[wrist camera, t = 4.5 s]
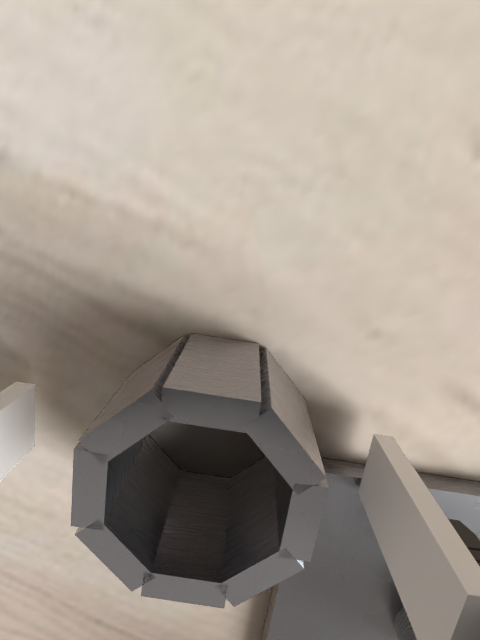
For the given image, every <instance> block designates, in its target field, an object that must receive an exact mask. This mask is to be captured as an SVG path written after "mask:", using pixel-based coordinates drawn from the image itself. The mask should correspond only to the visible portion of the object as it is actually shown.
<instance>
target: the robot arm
mask: <svg viewBox="0 0 480 640" xmlns="http://www.w3.org/2000/svg"><path fill="white" fill-rule="evenodd" d="M34 446H35V384H30V383H23V382H14V383H13V384H11V385H10V386H8V387H7V388H5V389H4V390H3V391H1V392H0V482H1V481H2V480H3V479H4V477H5V476H6V475H7V474H8V473H9V472H10V471H11V470H12V469H13V468H14V467H15V466H16V465H17V464H18V463H19V462H20V461H21V460H22V459H23V458H24V457H25V456H26V455H27V454H28V452H29V451H30V450H31V449H32V448H33V447H34ZM358 494H359V496H360V499H361V501H362V504H363V506H364V509H365V511H366V514H367V516H368V519H369V521H370V524H371V526H372V529H373V531H374V534H375V536H376V539H377V541H378V544H379V546H380V549H381V551H382V554H383V556H384V558H385V561H386V563H387V566H388V568H389V571H390V573H391V576H392V578H393V581H394V583H395V586H396V588H397V591H398V593H399V596H400V598H401V601H402V603H403V606H404V608H405V611H406V613H407V616H408V618H409V621H410V623H411V626H412V628H413V631H414V633H415V636H416V638H417V640H480V540H479V539H478V537H477V536H476V535H475V534H474V533H473V532H472V531H471V530H470V529H469V528H467V527H466V526H465V525H464V524H463V523H462V522H461V521H460V520H453V519H448V518H447V517H446V515H445V514H444V512H443V511H442V509H441V508H440V506H439V505H438V503H437V502H436V500H435V499H434V497H433V496H432V494H431V493H430V491H429V490H428V488H427V487H426V485H425V484H424V482H423V481H422V479H421V478H420V476H419V475H418V473H417V472H416V470H415V469H414V467H413V466H412V464H411V463H410V461H409V460H408V458H407V457H406V455H405V454H404V452H403V451H402V449H401V448H400V446H399V445H398V444H397V442H396V441H395V439H394V438H393V437H391V436H384V435H377V434H374V436H373V439H372V443H371V447H370V450H369V454H368V458H367V462H366V465H365V469H364V473H363V477H362V480H361V484H360V488H359V491H358Z"/></svg>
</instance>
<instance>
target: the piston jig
mask: <svg viewBox="0 0 480 640" xmlns="http://www.w3.org/2000/svg"><path fill="white" fill-rule="evenodd" d="M321 460H322V463H323V467H324V470H325V474H326V477H327V478H326V479H327V483H328V487H329V489H328V493H327V497H326V501H325V505H324V510H323V514H322V518H321V522H320V526H319V530H318V534H317V538H316V542H315V546H314V550H313V554H312V558H311V562H308V561H303V564H304V570H302V571H300V572H298V573H296V574H294V575H293V576H291V577H289V578H287V579H285V580H283V581H281V582H280V583H278V584H276V585H274V586H273V589H272V593H271V598H270V602H269V607H268V611H267V616H266V620H265V625H264V629H263V634H262V638H261V640H417V638H416V636H415V633H414V631H413V628H412V626H411V623H410V621H409V618H408V616H407V613H406V611H405V608H404V606H403V603H402V601H401V598H400V596H399V593H398V591H397V588H396V586H395V583H394V581H393V578H392V576H391V573H390V571H389V568H388V566H387V563H386V561H385V558H384V556H383V554H382V551H381V549H380V546H379V544H378V541H377V539H376V536H375V534H374V531H373V529H372V526H371V524H370V521H369V519H368V516H367V514H366V511H365V509H364V506H363V504H362V501H361V499H360V496H359V494H358V491H359V488H360V484H361V480H362V477H363V473H364V469H365V464H359V463H352V462H345V461H339V460H332V459H326V458H321ZM417 473H418V472H417ZM418 475H419V476H420V478H421V479H422V481H423V482H424V484H425V485H426V487H427V488H428V490H429V491H430V493H431V494H432V496H433V497H434V499H435V500H436V502H437V503H438V505H439V506H440V508H441V509H442V511H443V512H444V514H445V515H446V517H447V518H448V519H453V520H460V521H461V522H462V523H463V524H464V525H465V526H466V527H467V528H469V529H470V530H471V531H472V532H473V533H474V534H475V535H476V536H477V537H478V539H479V540H480V482H477V481H470V480H464V479H457V478H451V477H444V476H437V475H431V474H424V473H418Z"/></svg>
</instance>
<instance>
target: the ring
mask: <svg viewBox="0 0 480 640" xmlns="http://www.w3.org/2000/svg"><path fill="white" fill-rule="evenodd" d="M167 421H170V422H176V423H183V424H189V425H196V426H202V427H209V428H216V429H222V430H229V431H235V432H242V433H247V434H248V435H249V436H250V437H251V438H252V440H253V441H254V442H255V443H256V445H257V446H258V447H259V448H260V450H261V451H262V452H263V453H264V454H265V456H266V457H264V458H263V459H261V460H259V461H258V462H256V463H254V464H253V465H251V466H250V467H248V468H246V469H245V470H243V471H241V472H240V473H238V474H237V475H235V476H233V477H232V478H226V477H220V476H213V475H207V474H200V473H193V472H187V471H181V470H180V469H179V468H178V467H177V466H176V465H175V464H174V463H173V461H172V460H171V459H170V458H169V457H168V456H167V455H166V453H165V452H164V451H163V450H162V449H161V448H160V447H159V446H158V444H157V443H156V442H155V441H154V440H153V439H152V438H151V436H150V435H149V433H151V432H152V431H154V430H155V429H157V428H158V427H160V426H161V425H163V424H164V423H166V422H167ZM79 441H80V442H79V443H78V445H77V446H76V447H75V448H74V459H73V486H72V512H71V526H76V527H79V528H78V530H77V532H76V533H75V535H76V536H77V537H78V538H79V539H80V540H81V541H82V542H83V543H84V544H85V545H86V546H87V547H88V548H89V549H90V550H91V551H92V552H93V553H94V554H95V555H96V556H97V557H98V558H99V559H100V560H101V561H102V562H103V563H104V564H105V565H106V566H107V567H108V568H109V569H110V570H111V571H112V572H113V573H114V574H115V575H116V576H117V577H118V578H119V579H120V580H121V581H122V582H123V583H124V584H125V585H126V586H127V587H128V588H129V589H130V590H131V591H133V590H135V589H137V588H139V587H140V586H142V592H141V596H145V597H151V598H158V599H165V600H171V601H178V602H185V603H191V604H198V605H205V606H211V607H218V608H224V606H225V600H226V599H227V600H228V601H229V602H230V603H231V604H232V605H233V606H234V607H235V606H237V605H239V604H240V603H242V602H244V601H246V600H248V599H250V598H252V597H253V596H255V595H257V594H259V593H261V592H263V591H265V590H266V589H268V588H270V587H272V586H274V585H276V584H278V583H280V582H281V581H283V580H285V579H287V578H289V577H291V576H293V575H294V574H296V573H298V572H300V571H302V570H304V564H303V561H308V562H311V558H312V554H313V550H314V546H315V542H316V538H317V534H318V530H319V526H320V522H321V518H322V514H323V510H324V505H325V501H326V497H327V493H328V489H329V487H328V483H327V479H326V478H327V477H326V474H325V470H324V467H323V463H322V460H321V456H320V452H319V449H318V445H317V442H316V438H315V435H314V431H313V428H312V424H311V420H310V417H309V413H308V410H307V406H306V403H305V399H304V397H303V396H302V394H301V393H300V392H299V390H298V389H297V388H296V386H295V385H294V384H293V382H292V381H291V380H290V378H289V377H288V376H287V375H286V373H285V372H284V371H283V369H282V368H281V367H280V365H279V364H278V363H277V361H276V360H275V359H274V357H273V356H272V355H271V353H270V352H269V351H268V349H267V348H265V349H263V350H262V351H260V352H259V343H253V342H246V341H240V340H233V339H227V338H220V337H214V336H207V335H201V334H194V333H192V334H191V336H190V338H189V340H187V338H186V337H185V336H184V335H183V336H182V337H180V338H179V339H178V340H176V341H175V342H174V343H172V344H171V345H169V346H168V347H167V348H165V349H164V350H162V351H161V352H160V353H158V354H157V355H156V356H154V357H153V358H151V359H150V360H149V361H147V362H146V363H144V364H143V365H142V366H140V367H139V368H138V369H136V370H135V371H133V372H132V374H131V375H130V376H129V377H128V379H127V380H126V381H125V383H124V384H123V385H122V386H121V388H120V389H119V390H118V391H117V393H116V394H115V395H114V396H113V398H112V399H111V400H110V402H109V403H108V404H107V405H106V407H105V408H104V409H103V410H102V412H101V413H100V414H99V415H98V417H97V418H96V419H95V420H94V422H93V423H92V424H91V426H90V427H89V428H88V429H87V431H86V432H85V433H84V434H83V436H82V437H81V438H80V439H79Z"/></svg>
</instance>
